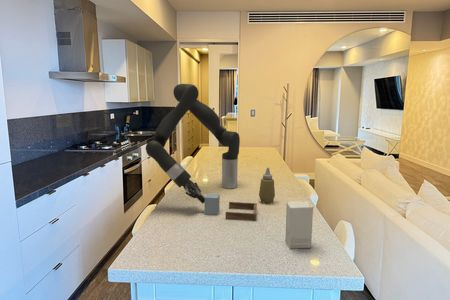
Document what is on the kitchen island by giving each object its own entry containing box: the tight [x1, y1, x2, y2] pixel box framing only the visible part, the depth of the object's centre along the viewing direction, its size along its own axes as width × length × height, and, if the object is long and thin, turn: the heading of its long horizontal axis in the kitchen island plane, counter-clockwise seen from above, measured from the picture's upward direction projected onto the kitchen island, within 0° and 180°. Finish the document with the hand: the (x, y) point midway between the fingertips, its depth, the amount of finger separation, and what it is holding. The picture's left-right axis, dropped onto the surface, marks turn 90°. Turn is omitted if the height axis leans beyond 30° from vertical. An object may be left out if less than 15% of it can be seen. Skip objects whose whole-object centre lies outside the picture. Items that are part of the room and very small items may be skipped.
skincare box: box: [285, 200, 314, 249], centre depth 108 cm, size 8×7×16 cm
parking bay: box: [225, 201, 258, 222], centre depth 137 cm, size 14×13×3 cm
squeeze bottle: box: [258, 167, 276, 205], centre depth 152 cm, size 8×8×18 cm
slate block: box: [204, 192, 220, 216], centre depth 138 cm, size 6×6×8 cm
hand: (204, 201), depth 139 cm, fingers closed
